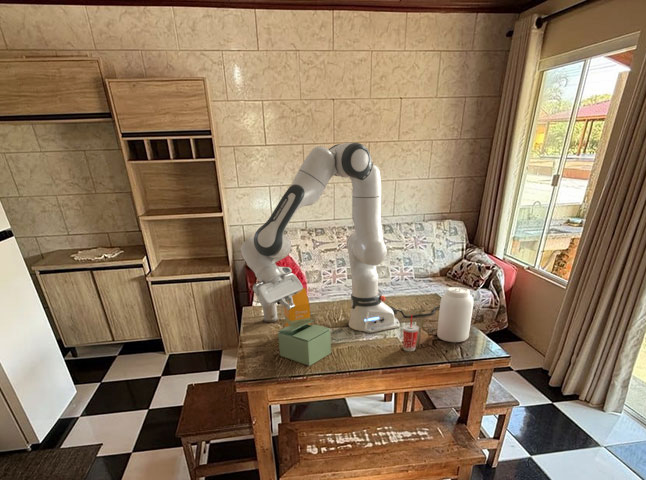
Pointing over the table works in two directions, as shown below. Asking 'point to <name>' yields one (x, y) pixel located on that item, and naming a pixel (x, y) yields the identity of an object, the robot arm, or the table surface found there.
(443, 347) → the table surface
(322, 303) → the table surface
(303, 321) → the flap
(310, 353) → the storage box
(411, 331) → the beverage cup
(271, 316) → the travel mug
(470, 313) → the white upright cylinder
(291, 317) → the orange juice
